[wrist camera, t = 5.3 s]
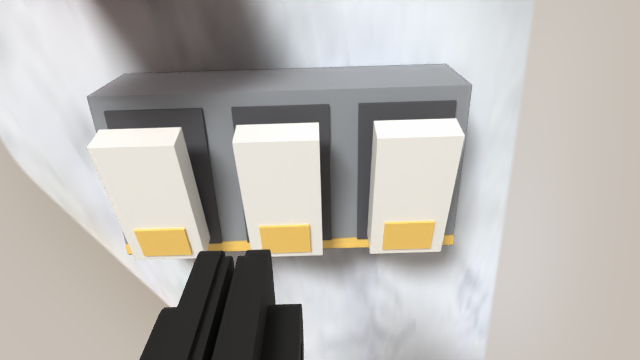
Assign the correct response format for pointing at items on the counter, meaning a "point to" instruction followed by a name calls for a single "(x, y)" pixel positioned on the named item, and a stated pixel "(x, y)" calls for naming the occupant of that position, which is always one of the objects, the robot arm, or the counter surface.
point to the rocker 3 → (412, 183)
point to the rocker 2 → (281, 186)
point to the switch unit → (279, 108)
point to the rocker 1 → (151, 191)
